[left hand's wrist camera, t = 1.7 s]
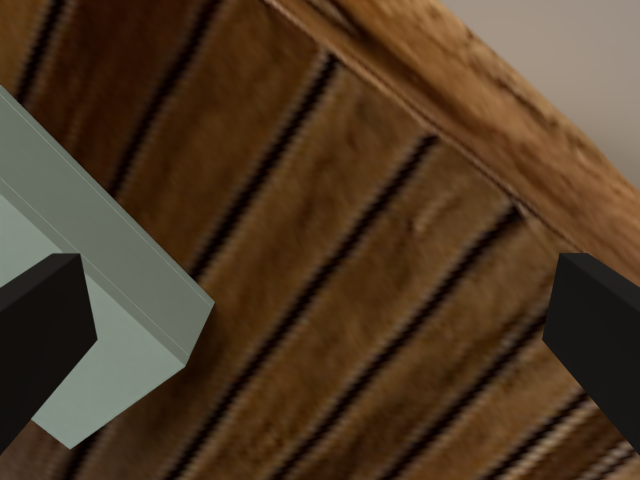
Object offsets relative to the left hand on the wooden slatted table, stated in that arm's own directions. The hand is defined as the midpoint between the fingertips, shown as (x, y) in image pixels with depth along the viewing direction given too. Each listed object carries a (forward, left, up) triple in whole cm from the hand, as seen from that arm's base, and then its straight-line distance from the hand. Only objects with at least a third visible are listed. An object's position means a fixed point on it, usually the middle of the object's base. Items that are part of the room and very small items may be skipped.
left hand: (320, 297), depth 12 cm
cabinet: (-16, +13, -21) cm, 30 cm away
